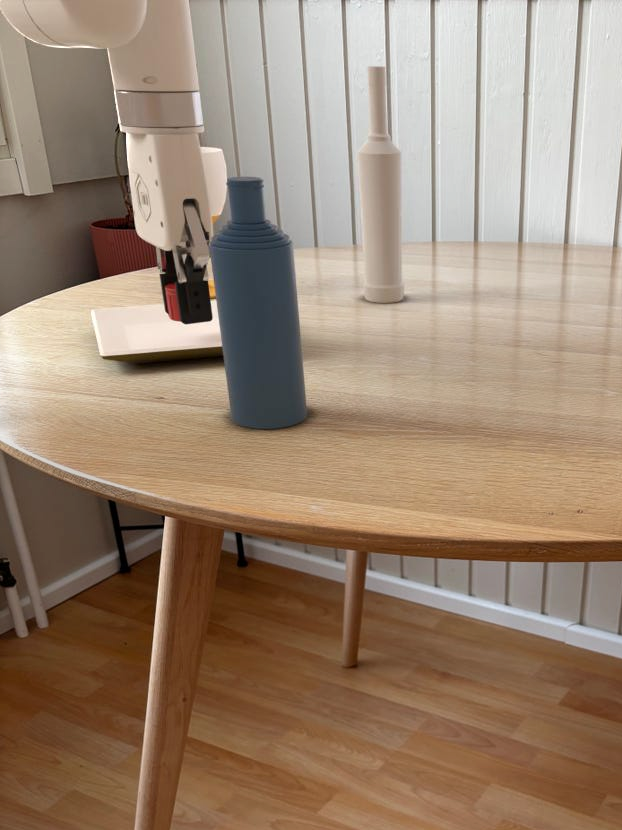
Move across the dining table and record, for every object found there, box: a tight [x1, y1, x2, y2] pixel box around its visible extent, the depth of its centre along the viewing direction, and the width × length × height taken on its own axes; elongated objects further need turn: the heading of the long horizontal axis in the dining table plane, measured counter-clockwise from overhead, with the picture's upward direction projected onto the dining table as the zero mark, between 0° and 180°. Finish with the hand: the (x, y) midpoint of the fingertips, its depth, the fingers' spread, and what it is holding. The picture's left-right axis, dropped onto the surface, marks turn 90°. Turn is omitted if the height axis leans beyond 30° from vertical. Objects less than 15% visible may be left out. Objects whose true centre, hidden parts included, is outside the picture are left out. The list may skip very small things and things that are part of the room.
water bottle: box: [208, 176, 308, 430], centre depth 76 cm, size 6×6×18 cm
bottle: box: [356, 65, 405, 304], centre depth 111 cm, size 5×5×25 cm
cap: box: [165, 283, 181, 322], centre depth 96 cm, size 4×4×3 cm
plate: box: [90, 299, 223, 364], centre depth 99 cm, size 19×19×2 cm
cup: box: [200, 146, 228, 299], centre depth 116 cm, size 9×9×16 cm
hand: (188, 315), depth 96 cm, fingers closed on cap, 3 cm apart
